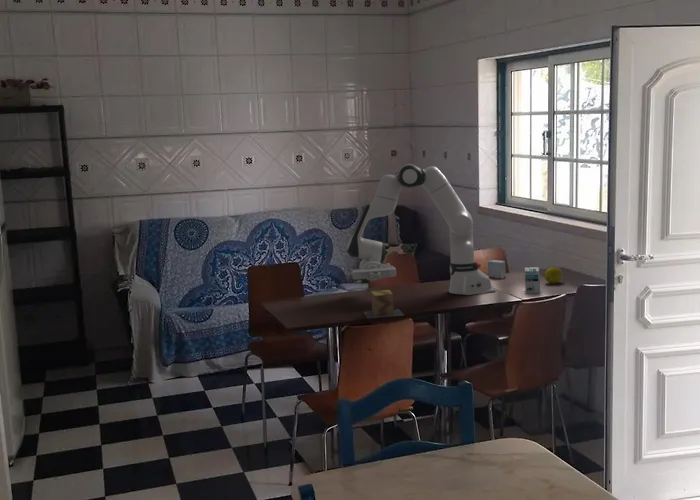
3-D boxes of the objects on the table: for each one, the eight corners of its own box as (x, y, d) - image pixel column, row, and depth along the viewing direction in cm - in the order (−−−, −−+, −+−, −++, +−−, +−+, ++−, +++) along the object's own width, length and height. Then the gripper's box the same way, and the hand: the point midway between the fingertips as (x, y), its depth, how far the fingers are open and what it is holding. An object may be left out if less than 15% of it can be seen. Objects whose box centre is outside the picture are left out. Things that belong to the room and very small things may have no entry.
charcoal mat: (399, 309, 345) (399, 309, 345) (404, 315, 333) (404, 315, 333) (363, 312, 343) (363, 312, 343) (367, 318, 331) (367, 318, 331)
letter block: (392, 293, 335) (393, 314, 336) (389, 289, 343) (390, 309, 345) (374, 295, 334) (375, 315, 335) (371, 291, 342) (372, 311, 344)
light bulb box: (540, 293, 360) (539, 270, 358) (525, 294, 361) (524, 271, 360) (539, 289, 370) (539, 266, 369) (525, 289, 372) (524, 267, 370)
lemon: (551, 286, 375) (551, 269, 374) (540, 283, 382) (539, 267, 381) (568, 282, 380) (568, 266, 379) (556, 280, 387) (556, 264, 386)
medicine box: (506, 277, 402) (505, 261, 401) (501, 279, 399) (500, 262, 398) (492, 276, 408) (492, 259, 406) (488, 277, 405) (487, 261, 403)
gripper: (349, 266, 364) (353, 271, 351) (392, 262, 367) (398, 267, 353) (350, 279, 365) (354, 284, 352) (393, 275, 368) (398, 281, 354)
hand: (376, 276), depth 353 cm, fingers closed
